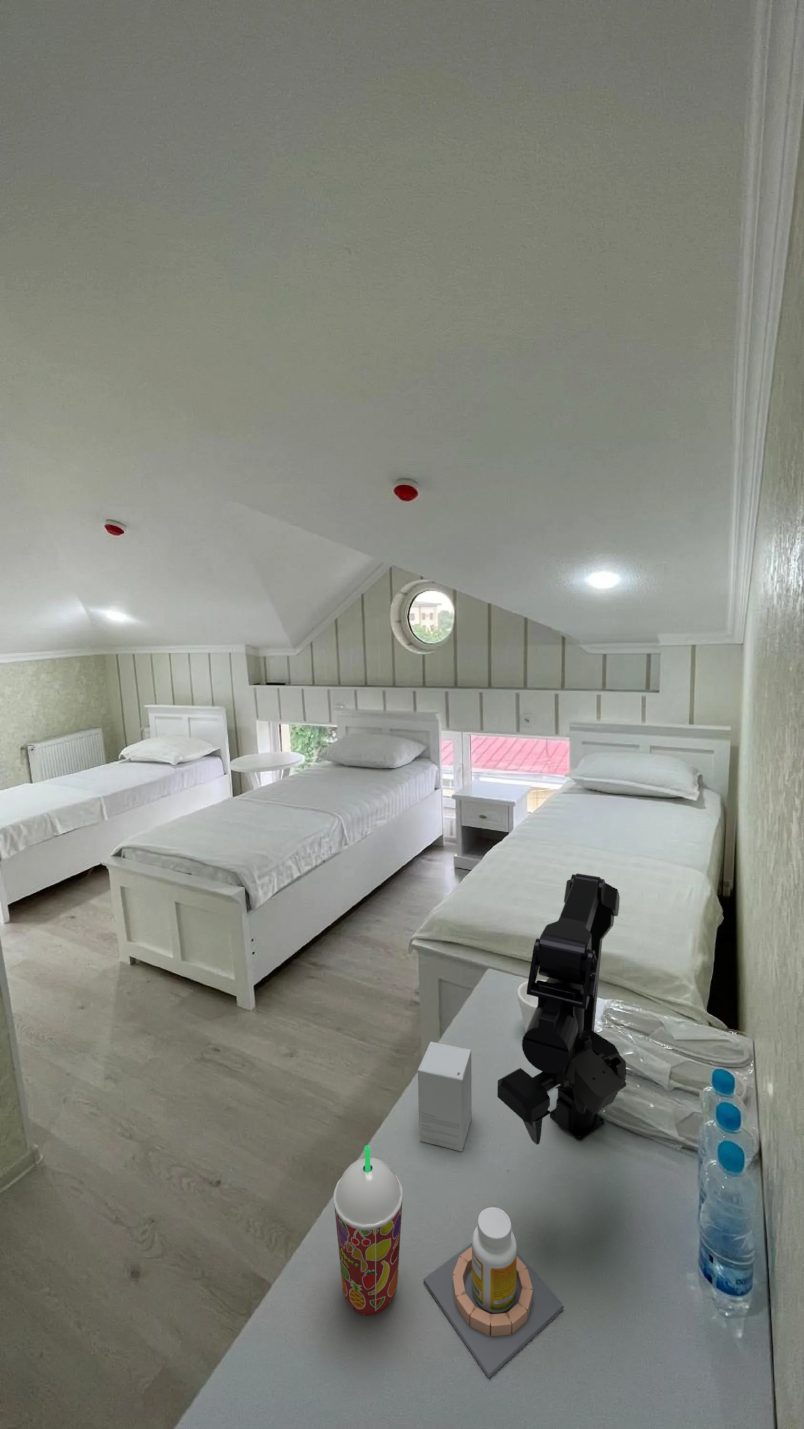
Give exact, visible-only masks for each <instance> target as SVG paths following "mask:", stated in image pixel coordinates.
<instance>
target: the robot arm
mask: <svg viewBox="0 0 804 1429" xmlns="http://www.w3.org/2000/svg"><path fill="white" fill-rule="evenodd" d="M564 892H565V893H564V897H563V898H564V899H563V903H564V904H563V908H562V910H561V913H560V915H559V918H558V920H557V921H554V922H551V923H549V924H547V925H545V927H544V928H543V931H542V932H541V934H540V936H539V937H540V938H536V939H535V941H534V945H533V950H532V955H531V961H530V968H529V974H528V980H527V981H528V986H527V995H531V996H535V997H538V1006H537V1008H536V1010H535V1012H534V1014H533V1017H532V1019H531V1021H530V1024H529V1026H528V1028H527V1031H525V1033H524V1036H523V1038H522V1041H521V1047H522V1052H523V1055H524V1057H525V1058H526V1060H527V1061H528V1062H529V1064H531V1066H532V1067H534V1069H535V1068H536V1070H538V1071H540V1073H538V1074H536V1075H534V1076H533V1077H532V1076H531V1075H530V1074H529V1073H528V1072H527V1071H525V1070H524V1068H522V1067H520V1068H517V1069H516V1070H513V1071H512V1072H509V1073H507V1074H506V1075H505V1076H502V1077H500V1078H499V1079H498V1080H497V1098H498V1100H500V1101H501V1102H502V1103H503V1104H504V1105H506V1107H508V1108H509V1109H510V1110H511V1111H512V1112H513V1113H515V1115H516V1116H518V1117H519V1118H520V1119H521V1120H522V1122H523V1124H524V1126H525V1128H526V1130H527V1132H528V1135H529V1137H530V1139H531V1141H532V1142H533V1143H534V1144H535V1145H536V1146H537V1145H540V1143H541V1137H542V1130H543V1128H542V1127H543V1126H542V1125H543V1119H544V1118H546V1117H547V1116H548V1115H549V1117H550V1118H551V1119H552V1120H553V1121H555V1122H556V1123H557V1124H558V1125H559V1126H561V1127H562V1129H564V1130H566V1132H567V1133H569V1134H570V1135H571V1136H573V1138H575V1139H576V1140H577V1141H581V1142H582V1141H583V1140H584V1139H586V1138H587V1137H588V1136H590V1135H591V1134H592V1133H594V1132H595V1131H596V1130H598V1129H600V1128H601V1127H602V1126H604V1125H605V1123H606V1122H605V1119H604V1118H603V1117H602V1116H601V1115H599V1114H598V1113H599V1112H601V1111H602V1110H603V1109H604V1108H606V1107H607V1106H609V1105H610V1104H612V1103H614V1101H615V1099H616V1098H617V1096H618V1093H619V1092H620V1091H621V1090H622V1089H624V1088H626V1086H627V1082H626V1080H627V1079H626V1076H627V1063H626V1059H624V1058H623V1057H622V1055H620V1052H619V1049H617V1046H616V1045H615V1044H613V1043H612V1042H611V1041H609V1040H607V1039H606V1038H605V1037H603V1036H602V1035H600V1034H598V1033H597V1032H595V1025H596V1014H597V1002H598V1001H597V1000H598V992H599V980H600V970H601V958H602V948H603V947H602V946H603V940H604V938H605V937H606V935H607V934H608V933H609V931H610V930H611V929H612V928H613V926H614V922H615V917H619V916H618V915H619V913H620V912H619V911H620V902H621V901H620V893H619V890H618V888H615V886H612V885H610V884H609V883H607V882H606V881H605V879H603V878H601V877H600V876H595V875H589V874H582V873H579V872H578V873H574V874H572V875H571V877H570V879H568V880H566V883H565V890H564ZM538 974H539V975H540V976H541V977H546V978H547V979H545V980H546V982H545V981H541V980H542V979H537V977H538ZM536 980H537V981H536ZM535 982H536V983H535ZM555 1089H556V1090H557V1098H556V1101H555V1102H556V1107H555V1108H554V1109H552V1110H551V1111H550V1110H549V1108H550V1106H551V1097H550V1096H549V1093H550V1092H552V1091H553V1090H555Z"/></svg>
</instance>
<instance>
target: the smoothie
mask: <svg viewBox="0 0 804 1429" xmlns="http://www.w3.org/2000/svg"><path fill="white" fill-rule="evenodd" d="M332 1198H333V1200H332V1201H333V1202H332V1203H333V1206H334V1215H335V1225H336V1235H337V1244H338V1245H337V1246H338V1254H339V1255H338V1257H339V1265H340V1276H341V1284H342V1285H341V1286H342V1292H343V1294H344V1298H345V1300H346V1301H347V1303H348V1304H349V1305H350V1306H351V1308H352V1309H353V1310H354V1311H355V1312H356V1313H358V1314H359V1315H363V1316H367V1317H370V1316H376V1315H378V1314H380V1313H381V1312H383V1311H385V1309H386V1308H387V1307H388V1306H389V1304H390V1303H391V1301H392V1299H393V1298H394V1296H395V1294H396V1292H397V1288H398V1283H399V1282H398V1281H399V1280H398V1278H399V1265H400V1264H399V1263H400V1261H399V1260H400V1245H401V1233H402V1232H401V1228H402V1215H403V1214H402V1213H403V1212H402V1210H403V1199H404V1191H403V1185H402V1183H401V1181H400V1179H399V1177H398V1176H397V1174H395V1172H394V1171H393V1169H392V1168H391V1167H390V1166H389V1165H388V1164H387V1162H385V1161H383V1160H382V1159H379V1158H377V1157H373V1156H371V1146H370V1145H364V1157H363V1158H359V1159H357V1160H355V1161H354V1162H352V1163H351V1164H350V1165H349V1166H348V1167H347V1168H346V1170H345V1171H344V1172H343V1173H342V1175H341V1178H340V1179H338V1181H337V1183H336V1185H335V1187H334V1191H333V1197H332Z"/></svg>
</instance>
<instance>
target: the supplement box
mask: <svg viewBox="0 0 804 1429" xmlns="http://www.w3.org/2000/svg"><path fill="white" fill-rule="evenodd" d="M472 1078H473V1077H472V1049H468V1048H464V1047H458V1046H454V1045H449V1044H445V1043H444V1044H443V1043H439V1042H435V1041H430V1042H429V1044H428V1046H427V1049H426V1050H425V1053H424V1055H423V1057H422V1059H421V1062H420V1064H419V1066H418V1068H417V1086H418V1088H417V1089H418V1093H417V1094H418V1096H417V1097H418V1134H419V1136H418V1137H419V1142H422V1143H427V1144H431V1145H435V1146H439V1147H443V1148H446V1149H451V1150H454V1151H457V1152H463V1150H464V1147H465V1143H466V1140H467V1135H468V1133H469V1128H470V1125H471V1122H472V1118H473V1113H472V1111H473V1110H472V1107H473V1106H472V1101H473V1100H472V1084H473V1083H472V1082H473V1081H472Z"/></svg>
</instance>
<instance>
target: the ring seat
mask: <svg viewBox="0 0 804 1429" xmlns="http://www.w3.org/2000/svg"><path fill="white" fill-rule="evenodd" d="M423 1284H424V1285H425V1287H426V1289H427V1290H428V1292H429V1294H430V1295H431V1296H432V1298H433V1299H434V1300H435V1302H436V1303H437V1306H439V1308H440V1309H441V1311H442V1312H443V1314H444V1315H445V1316H446V1318H447V1319H448V1321H449V1323H450V1324H451V1326H452V1327H453V1329H454V1330H455V1331H456V1333H457V1334H458V1335H459V1337H460V1339H461V1340H462V1342H463V1343H464V1344H465V1345H466V1348H467V1349H468V1350H469V1352H470V1353H471V1354H472V1356H473V1358H474V1359H475V1361H476V1363H478V1366H480V1368H481V1369H482V1371H483V1372H484V1374H485V1375H486V1377H487V1378H488V1379H490V1378H491V1377H492V1376H494V1375H495V1374H496V1373H497V1372H498V1371H499V1370H500V1369H501V1368H502V1367H503V1366H505V1364H507V1363H508V1362H509V1360H511V1359H512V1358H513V1357H514V1356H516V1355H517V1353H518V1352H520V1350H521V1349H523V1348H524V1347H525V1346H526V1345H527V1344H528V1343H529V1342H530V1341H531V1340H532V1339H533V1338H534V1337H536V1336H537V1335H538V1334H539V1333H540V1332H541V1331H542V1330H543V1329H544V1328H546V1326H547V1325H548V1324H549V1323H550V1322H552V1321H553V1320H554V1319H555V1318H556V1317H557V1316H558V1315H560V1313H561V1312H563V1311H564V1304H563V1303H562V1302H561V1301H560V1299H559V1298H558V1297H557V1296H556V1295H555V1294H554V1292H553V1291H552V1290H551V1289H550V1288H549V1286H548V1285H547V1284H546V1283H545V1282H544V1280H542V1279H541V1278H540V1276H539V1275H538V1274H537V1273H536V1271H534V1269H533V1268H532V1266H530V1265H529V1264H528V1262H527V1261H526V1260H525V1259H524V1258H523V1257H522V1256H521V1254H520V1252H518V1251H517V1267H516V1297H515V1300H514V1303H513V1304H512V1306H511V1307H510V1308H509V1309H508V1310H506V1311H504V1312H501V1313H492V1312H489V1311H487V1310H485V1309H483V1308H482V1307H481V1306H480V1305H479V1304H478V1302H477V1301H476V1299H475V1297H474V1295H473V1291H472V1242H470V1244H468V1245H467V1246H465V1247H464V1248H462V1249H461V1250H460V1251H459V1252H457V1253H456V1254H455V1255H454V1256H452V1257H451V1258H449V1259H448V1260H447V1261H446V1262H444V1263H442V1264H441V1265H440V1266H439V1267H438V1268H437V1267H436V1268H435V1269H434V1270H433V1271H431V1273H429V1274H428V1275H426V1276H425V1277H424V1278H423Z"/></svg>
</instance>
